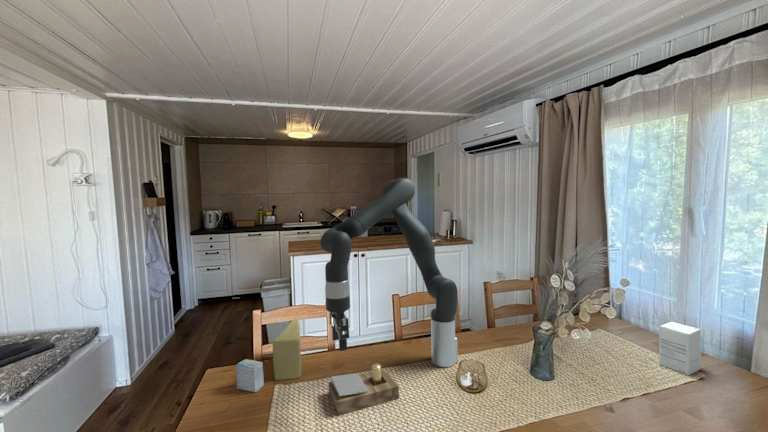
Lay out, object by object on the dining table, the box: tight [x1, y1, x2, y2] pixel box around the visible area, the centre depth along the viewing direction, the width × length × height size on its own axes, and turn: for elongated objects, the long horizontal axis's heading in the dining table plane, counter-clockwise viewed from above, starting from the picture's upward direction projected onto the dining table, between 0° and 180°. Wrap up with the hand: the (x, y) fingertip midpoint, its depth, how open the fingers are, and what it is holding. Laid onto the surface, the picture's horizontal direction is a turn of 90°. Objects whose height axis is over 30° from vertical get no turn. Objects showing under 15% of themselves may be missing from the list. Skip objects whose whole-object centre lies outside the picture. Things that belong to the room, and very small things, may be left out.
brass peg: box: [371, 363, 382, 386], centre depth 105 cm, size 3×3×9 cm
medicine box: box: [235, 358, 265, 393], centre depth 110 cm, size 8×4×9 cm, turn 71°
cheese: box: [272, 318, 302, 381], centre depth 125 cm, size 22×10×15 cm, turn 6°
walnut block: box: [328, 368, 400, 416], centre depth 104 cm, size 20×12×4 cm, turn 113°
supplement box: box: [658, 321, 702, 376], centre depth 117 cm, size 9×9×15 cm
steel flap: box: [331, 372, 368, 396], centre depth 102 cm, size 9×10×1 cm
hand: (339, 344), depth 101 cm, fingers open, 8 cm apart
